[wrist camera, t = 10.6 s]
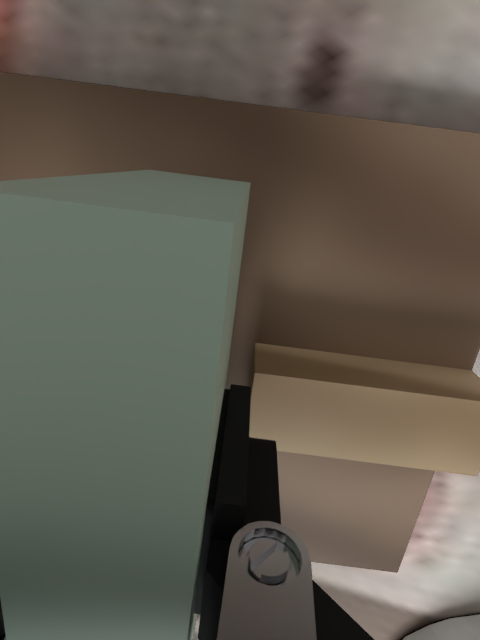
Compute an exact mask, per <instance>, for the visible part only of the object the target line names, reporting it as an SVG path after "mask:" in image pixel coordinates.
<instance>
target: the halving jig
mask: <svg viewBox="0 0 480 640" xmlns="http://www.w3.org/2000/svg"><path fill="white" fill-rule="evenodd" d="M138 170H156V171H164V172H172V173H179V174H187V175H195V176H203V177H211V178H218V179H226V180H234V181H242V182H250V183H251V185H250V193H249V202H248V210H247V218H246V226H245V234H244V242H243V250H242V259H241V267H240V275H239V283H238V291H237V299H236V308H235V316H234V324H233V332H232V340H231V348H230V357H229V365H228V373H227V381H226V389H230V385H231V384H235V385H243V386H251V403H250V429H249V437H251V438H258V439H266V440H274V441H276V446H277V463H278V480H279V496H280V513H281V525H284V526H285V527H287V528H289V529H290V530H292V531H294V532H295V533H296V534H297V535H298V536H299V537H300V538H301V539H302V541H303V542H304V544H305V546H306V547H307V549H308V552H309V556H310V560H311V562H318V563H326V564H334V565H342V566H350V567H358V568H366V569H373V570H381V571H389V572H398V570H399V567H400V564H401V561H402V559H403V556H404V553H405V551H406V548H407V545H408V542H409V540H410V537H411V534H412V532H413V529H414V526H415V523H416V521H417V518H418V515H419V512H420V510H421V507H422V504H423V502H424V499H425V496H426V493H427V491H428V488H429V485H430V483H431V480H432V477H433V474H434V472H435V471H440V472H448V473H456V474H464V475H472V476H477V475H478V473H479V471H480V378H479V377H478V376H477V375H476V374H475V373H474V372H473V371H472V368H473V366H474V363H475V360H476V357H477V355H478V352H479V349H480V133H473V132H466V131H458V130H450V129H442V128H435V127H427V126H419V125H411V124H403V123H396V122H388V121H380V120H372V119H365V118H357V117H349V116H341V115H333V114H326V113H318V112H310V111H302V110H295V109H287V108H279V107H271V106H263V105H256V104H248V103H240V102H232V101H224V100H217V99H209V98H201V97H193V96H186V95H178V94H170V93H162V92H154V91H147V90H139V89H131V88H123V87H116V86H108V85H100V84H92V83H84V82H77V81H69V80H61V79H53V78H45V77H38V76H30V75H22V74H14V73H7V72H0V181H9V180H22V179H35V178H48V177H61V176H74V175H87V174H100V173H113V172H126V171H138Z"/></svg>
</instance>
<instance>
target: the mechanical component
mask: <svg viewBox="0 0 480 640" xmlns="http://www.w3.org/2000/svg"><path fill="white" fill-rule="evenodd" d="M402 640H480V614H479V615H472V616H465V617H457V618H450V619H447V620H443V621H440V622H437V623H434V624H431V625H428V626H426V627H424V628H422V629H420V630H418V631H416V632H414V633H412V634H410V635H408V636H406V637H405V638H403V639H402Z"/></svg>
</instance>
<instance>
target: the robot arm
mask: <svg viewBox="0 0 480 640" xmlns="http://www.w3.org/2000/svg"><path fill="white" fill-rule="evenodd" d="M250 403H251V386H243V385H235V384H231V385H230V389H224V395H223V401H222V408H221V414H220V421H219V427H218V433H217V440H216V446H215V453H214V459H213V466H212V472H211V479H210V485H209V492H208V499H207V506H206V514H205V523H204V531H203V540H202V548H201V557H200V565H199V574H198V582H197V591H196V599H195V608H194V614H201V617H200V625H199V633H198V639H199V640H374V639H373V638H372V637H371V636H370V635H369V634H368V633H367V632H366V631H365V630H364V629H363V628H362V627H361V626H360V625H359V624H358V623H356V622H355V621H354V620H353V619H352V618H351V617H350V616H349V615H348V614H347V613H346V612H345V611H344V610H343V609H342V608H341V607H340V606H339V605H338V604H337V603H336V602H335V601H334V600H333V599H332V598H331V597H330V596H329V595H328V594H327V593H326V592H324V591H323V590H322V589H321V588H320V587H319V586H318V585H317V584H316V583H315V582H314V581H313V580H312V570H311V560H310V556H309V552H308V549H307V547H306V546H305V544H304V542H303V541H302V539H301V538H300V537H299V536H298V535H297V534H296V533H295V532H294V531H292V530H290V529H289V528H287V527H285V526H284V525H281V513H280V496H279V480H278V463H277V446H276V441H274V440H266V439H258V438H251V437H249V429H250ZM0 640H6V634H5V627H4V620H3V613H2V606H1V599H0Z"/></svg>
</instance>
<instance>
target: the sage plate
mask: <svg viewBox="0 0 480 640" xmlns="http://www.w3.org/2000/svg"><path fill="white" fill-rule="evenodd" d="M250 185H251V183H250V182H242V181H234V180H226V179H218V178H211V177H203V176H195V175H187V174H179V173H172V172H164V171H156V170H138V171H126V172H113V173H100V174H87V175H74V176H61V177H48V178H35V179H22V180H9V181H0V599H1V606H2V613H3V620H4V627H5V634H6V640H193V637H194V630H195V623H196V616H197V614H194V608H195V599H196V591H197V582H198V574H199V565H200V557H201V548H202V540H203V531H204V523H205V514H206V506H207V499H208V492H209V485H210V479H211V472H212V466H213V459H214V453H215V446H216V440H217V433H218V427H219V421H220V414H221V408H222V401H223V395H224V389H226V381H227V373H228V365H229V357H230V348H231V340H232V332H233V324H234V316H235V308H236V299H237V291H238V283H239V275H240V267H241V259H242V250H243V242H244V234H245V226H246V218H247V210H248V202H249V193H250Z"/></svg>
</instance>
